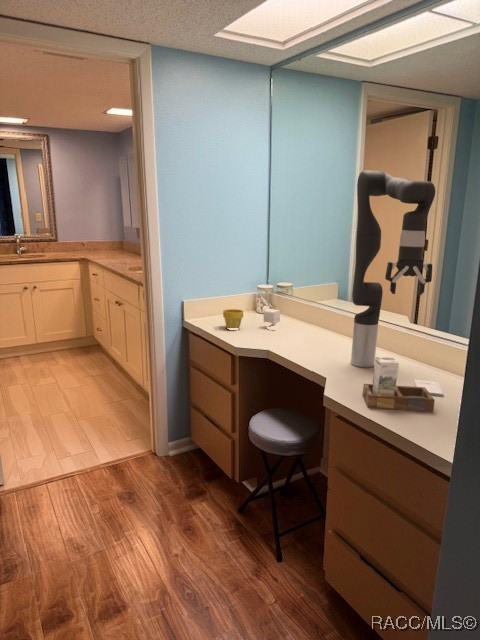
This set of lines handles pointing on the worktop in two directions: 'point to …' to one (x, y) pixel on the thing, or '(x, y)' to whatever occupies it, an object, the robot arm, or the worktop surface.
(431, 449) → the worktop surface
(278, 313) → the security camera
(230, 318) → the plant pot
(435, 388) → the external hard drive
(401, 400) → the socket block
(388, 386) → the syrup box
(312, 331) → the worktop surface
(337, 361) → the worktop surface
